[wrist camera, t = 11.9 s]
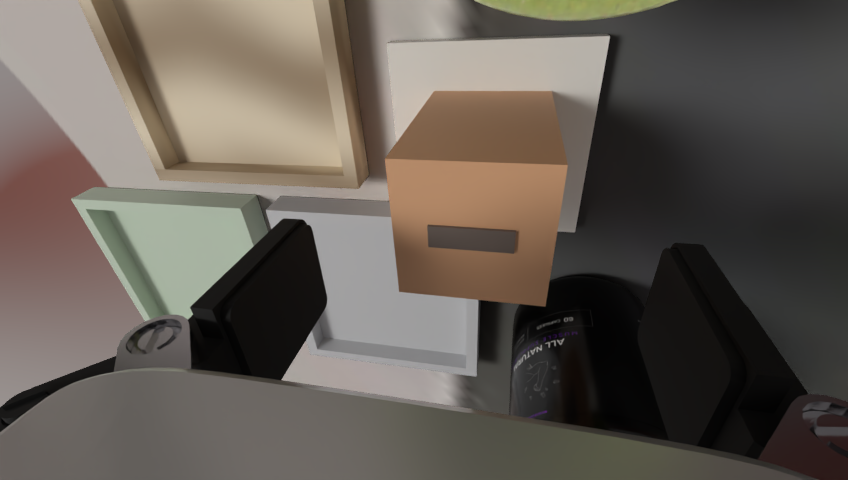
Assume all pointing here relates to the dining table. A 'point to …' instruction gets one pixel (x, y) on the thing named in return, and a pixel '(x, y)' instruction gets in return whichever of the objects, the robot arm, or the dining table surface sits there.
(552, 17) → the plant pot
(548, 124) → the letter block
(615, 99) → the dining table surface
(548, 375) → the supplement bottle
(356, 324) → the tray grey
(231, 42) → the tray birch
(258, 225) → the tray green
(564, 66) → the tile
